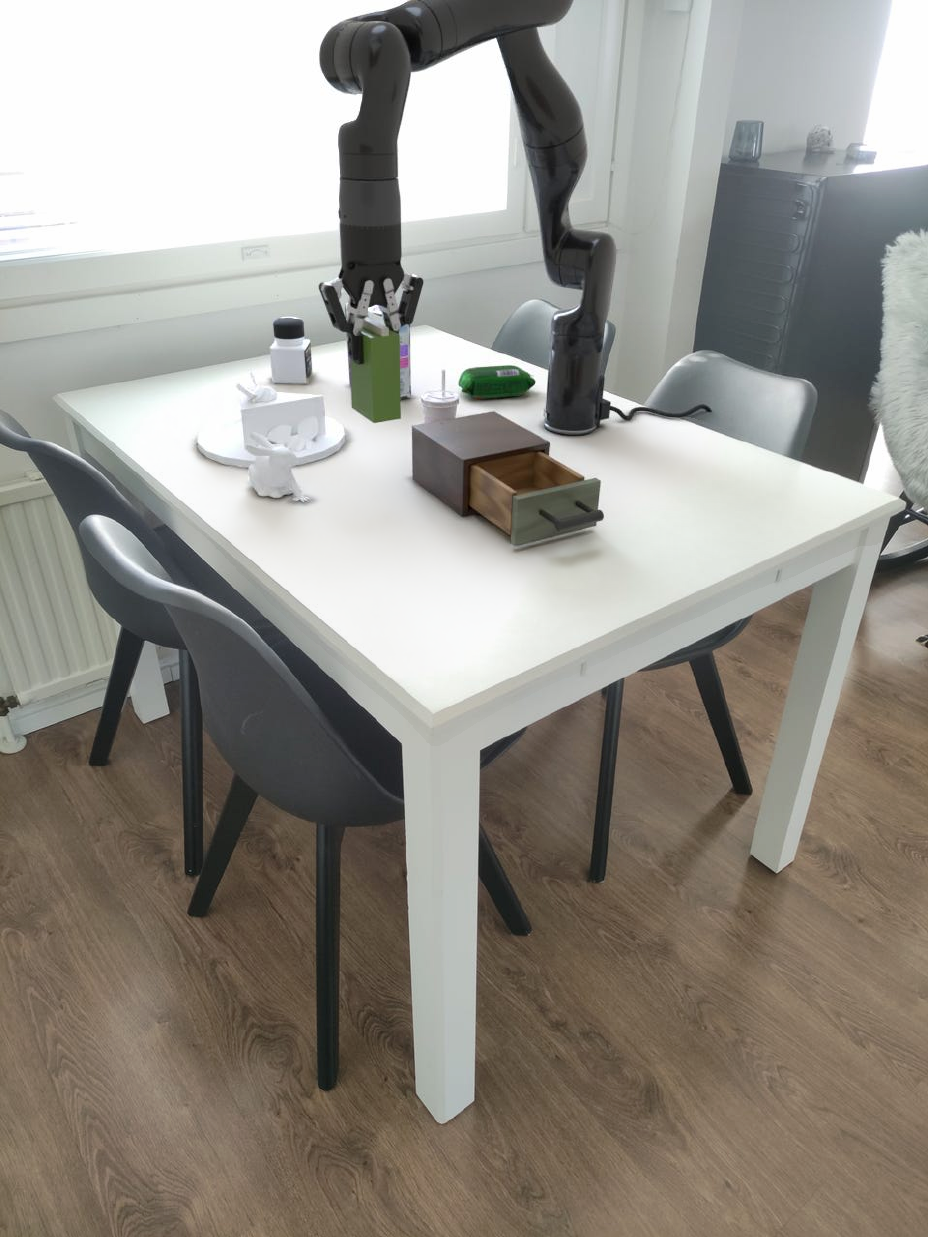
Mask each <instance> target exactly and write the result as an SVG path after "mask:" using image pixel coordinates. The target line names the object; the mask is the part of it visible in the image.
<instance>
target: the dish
mask: <svg viewBox="0 0 928 1237" xmlns="http://www.w3.org/2000/svg"><path fill="white" fill-rule="evenodd" d="M248 372H249V374H250V375H251V376H250V377H251V379H252V381H253V383H254V385H255V387H254V388H252V389H250V388H249V387H247V386H245V385H244V384H242V383H241V382H239V381H237V383H236V384H235V388H236V389H237V390H238V391H240V413H237V414H233V415H229V416H225V417H222V418H220V419H217V420H215V421H213V422H211V423H208V424H207V425H205V426H204V428H202V429H201V430H200V431H199V432H198V434H197V448H198V450H199V452H200V453H201V454H203V456H204V457H206V458H207V459H209V460H212V461H215V462H217V463H219V464H222V465H226V466H230V467H231V466H232V467H239V468H244V469H249V466H250V465H252V464H254V463H255V459H256V456H255V455H253V454H251V453H249V452H248V451H247V449H246V445H247V444H251V445H254V446H255V445H256V444H257V441H255V440H253V439H252V438H250V435H251V433H252V432H256V433H258V434H259V435H261V436H263V437H264V438H265V437H266V436H267V438H268V441H269V442H270V443H271V444H272V445H273V446H275V447H285V448H288V449H289V450H291V451H292V452H293V453H294V454H295V455H296V458H297V460H296V465H295V466H303V465H306V464H309V463H312V462H313V463H314V462H316V461H320V460H323V459H326V458H328V457H329V456H331V455H333V454H334V453H337V452H338V451H340V449H341V448H342V447H343V445H344V444H345V443H346V432H345V428H344V426H343V425H344V424H341V423H340V422H338V421H337V420H336V419H334V418H333V417H330V416H327V415H326V412H325V411H326V410H325V396H324V395H323V394H322V395H321V394H311V393H310V394H309V393H297V392H296V393H294V392H281V391H276V390H275V389H273V388H272V387H270V386H267V385H262V384H261V385H259V381H258V379H257V377H256V376H255V374H254V373H253V371H252V370H251V368H250V369H248ZM295 466H294V467H295Z"/></svg>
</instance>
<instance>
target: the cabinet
mask: <svg viewBox="0 0 928 1237" xmlns="http://www.w3.org/2000/svg"><path fill="white" fill-rule="evenodd" d="M550 448H551V442H550V441H548V440H546V439H545V438H543V437H541V436H539V435H537V434H535V433H534V432H532V431H531V430H529V429H527V428H525V427H523V426H521V425H520V424H518V423H516V422H515V421H513V420H510V419H509V418H507V417H505V416H503V415H502V414H500V413H498V412H496V411H495V410H493V411H487V412H481V413H475V414H471V415H470V414H469V415H465V416H464V415H463V416H458V417H456V418H452V419H447V420H441V421H435V422H430V423H425V422H424V423H420V424H414V425H411V465H412V466H411V467H412V469H411V471H412V472H411V473H412V480H413V481H414V482H416V483H417V484H418V485H420V486H421V487H422V488H423V489H425V490H426V491H428V492H429V493H430V494H432V495H433V496H434V497H435V498H437V499H438V500H439V501H441V502H442V503H444V504H445V506H448V507H449V508H450V509H451V510H453V511H454V512H455V513H457V514H458V515H459V516H461V517H462V518H463V517H468V516H472V515H476V514H480V513H479V512H477V511H476V510H475V509H473V508H472V507H471V506H469V505H468V473H469V465H470V464H474V463H479V462H484V461H489V460H494V459H499V458H504V457H509V456H514V455H519V454H524V453H528V452H533V451H538V450H539V451H541V452H543V453H544V454H546V455H548V456H550V452H551V450H550Z"/></svg>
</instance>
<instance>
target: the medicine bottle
mask: <svg viewBox="0 0 928 1237" xmlns="http://www.w3.org/2000/svg"><path fill="white" fill-rule="evenodd" d="M272 328H273V329H272V330H273V339H274V342H273V343H272V345H271V346H270V347H269V359H270V369H271V380H272V383H273V384H296V385H297V384H298V385H301V384H303V385H307V384H308V383H309V381H310V379H311V377H312V375H313V361H312V360H313V359H312V346H311V340H310V339H306V335H305V323H304V320H302V319H301V318H299V317H295V316H283V317H279V318H277V319H275V320H274V321H273V322H272Z"/></svg>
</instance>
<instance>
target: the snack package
mask: <svg viewBox="0 0 928 1237" xmlns="http://www.w3.org/2000/svg"><path fill="white" fill-rule="evenodd" d="M536 383H537V382H536V380H535V379H534V377H533V376H532V375H531V374H530V373H529V372H527V371H526V370H524V369H523V368H521V367H519V366H517V365H512V364H511V365H509V364H505V365H491V366H490V365H489V366H478V367H477V366H476V367H475V366H474V367H470V368H466V369H465V370H464V371H463V372H462V373H461V374H460V377H459V379H458V387H459V388H461V392H462V393H463V394H466V395H468V397H470V398H471V399H473V400H474V399H475V400H485V399H497V398H499V399H500V398H510V397H519V396H523V395H525V394H526V393H527V392H528V391H529V390H530V389H531V388H533V387H534V386H535V385H536Z"/></svg>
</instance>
